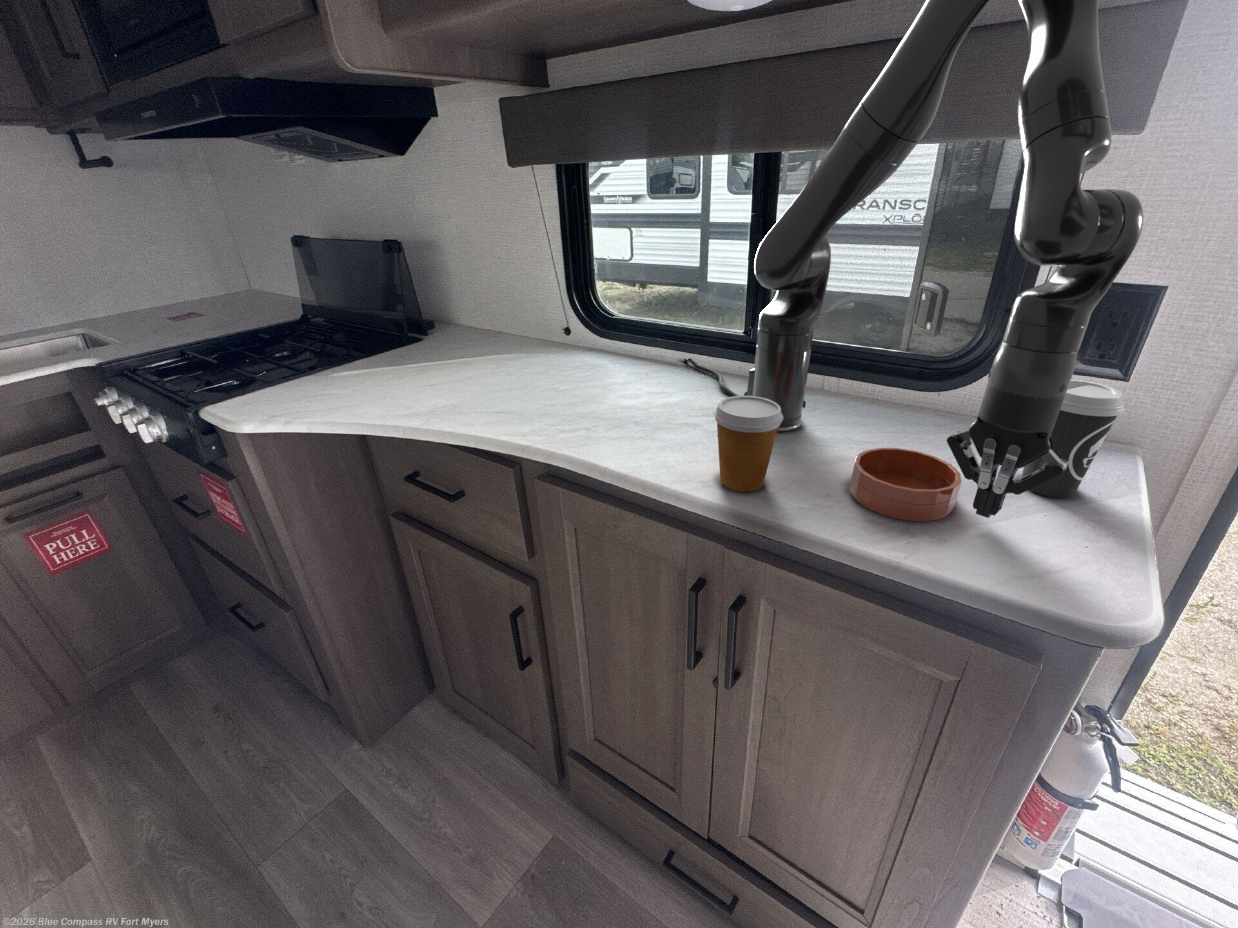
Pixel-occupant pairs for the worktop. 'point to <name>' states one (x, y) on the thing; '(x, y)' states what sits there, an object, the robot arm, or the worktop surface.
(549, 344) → the worktop surface
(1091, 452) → the coffee cup
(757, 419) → the disposable coffee cup
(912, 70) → the robot arm
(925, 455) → the bowl
